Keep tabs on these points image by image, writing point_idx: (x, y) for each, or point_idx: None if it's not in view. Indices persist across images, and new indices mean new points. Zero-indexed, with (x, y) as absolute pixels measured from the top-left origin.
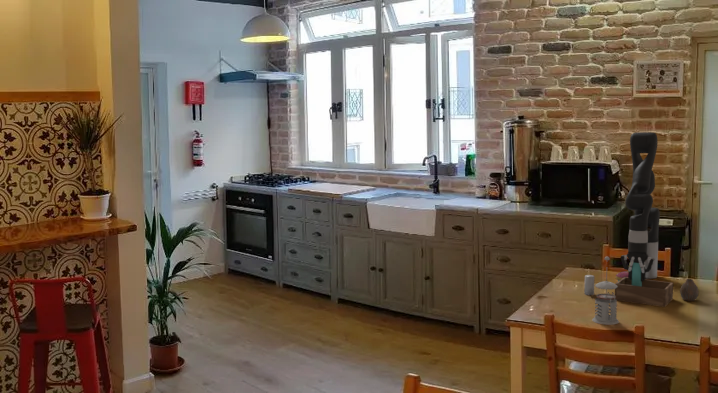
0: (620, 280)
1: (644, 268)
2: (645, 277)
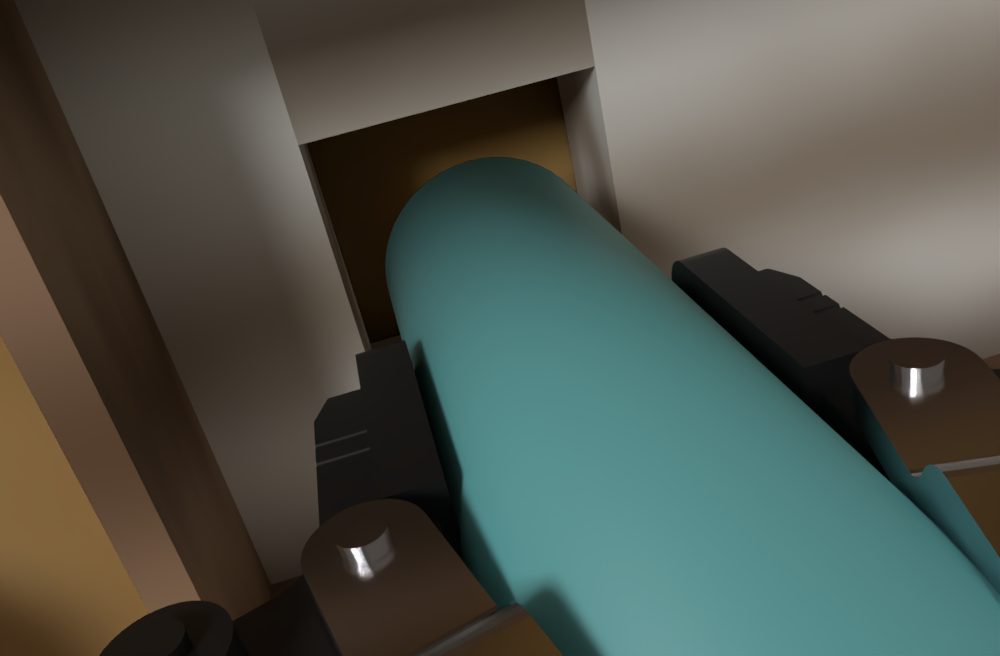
0: (103, 473)
1: (987, 454)
2: (819, 296)
